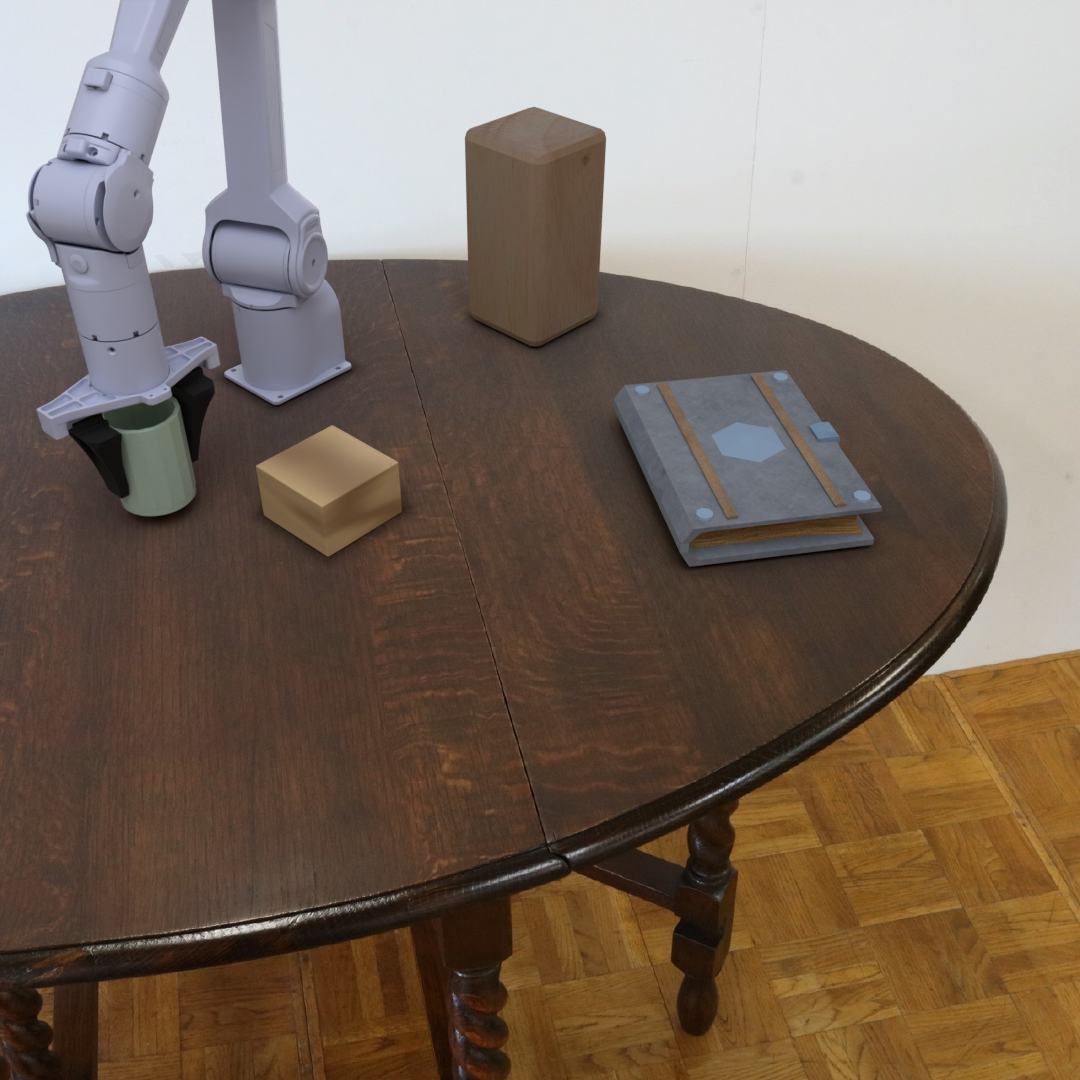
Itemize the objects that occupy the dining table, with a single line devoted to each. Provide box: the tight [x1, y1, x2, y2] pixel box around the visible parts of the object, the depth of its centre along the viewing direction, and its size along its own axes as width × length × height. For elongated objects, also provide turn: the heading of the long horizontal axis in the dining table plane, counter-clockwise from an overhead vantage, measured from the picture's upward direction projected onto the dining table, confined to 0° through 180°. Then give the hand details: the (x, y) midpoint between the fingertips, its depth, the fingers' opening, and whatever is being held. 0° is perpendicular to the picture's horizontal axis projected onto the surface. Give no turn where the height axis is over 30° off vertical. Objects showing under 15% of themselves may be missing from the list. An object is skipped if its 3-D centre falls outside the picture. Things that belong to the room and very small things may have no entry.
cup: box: [103, 396, 197, 517], centre depth 94 cm, size 6×6×8 cm
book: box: [613, 369, 883, 567], centre depth 100 cm, size 21×16×5 cm
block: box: [255, 424, 403, 558], centre depth 96 cm, size 8×8×5 cm
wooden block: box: [464, 106, 607, 347], centre depth 117 cm, size 10×10×20 cm
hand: (153, 474), depth 95 cm, fingers closed on cup, 6 cm apart
